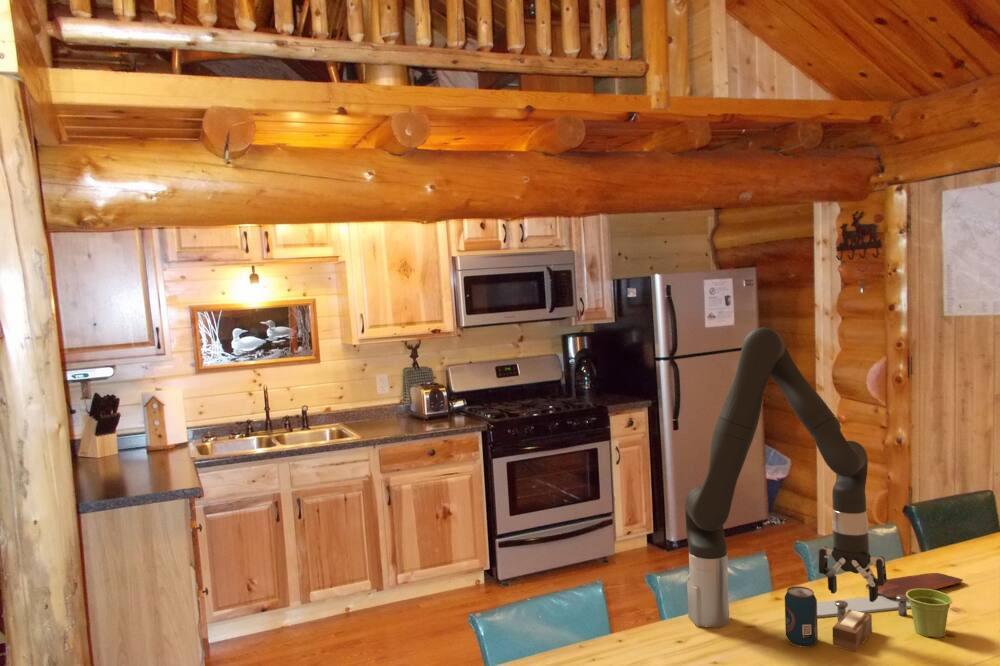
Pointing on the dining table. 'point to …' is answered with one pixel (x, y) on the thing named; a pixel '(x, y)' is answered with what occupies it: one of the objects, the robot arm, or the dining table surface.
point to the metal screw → (841, 608)
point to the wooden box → (852, 630)
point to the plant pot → (929, 611)
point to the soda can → (801, 616)
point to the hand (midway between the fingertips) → (852, 596)
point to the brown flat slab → (915, 583)
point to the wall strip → (858, 606)
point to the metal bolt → (902, 604)
